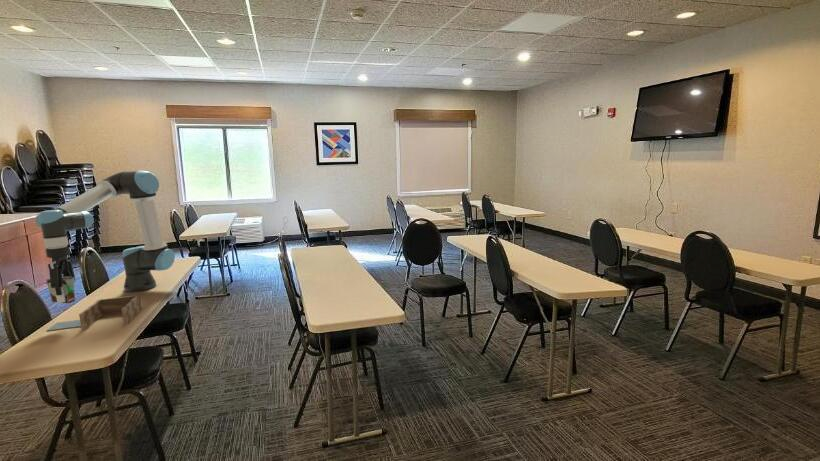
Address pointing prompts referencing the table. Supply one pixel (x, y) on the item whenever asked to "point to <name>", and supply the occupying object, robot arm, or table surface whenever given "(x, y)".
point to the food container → (68, 289)
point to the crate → (111, 309)
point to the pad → (65, 325)
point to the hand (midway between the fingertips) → (66, 298)
